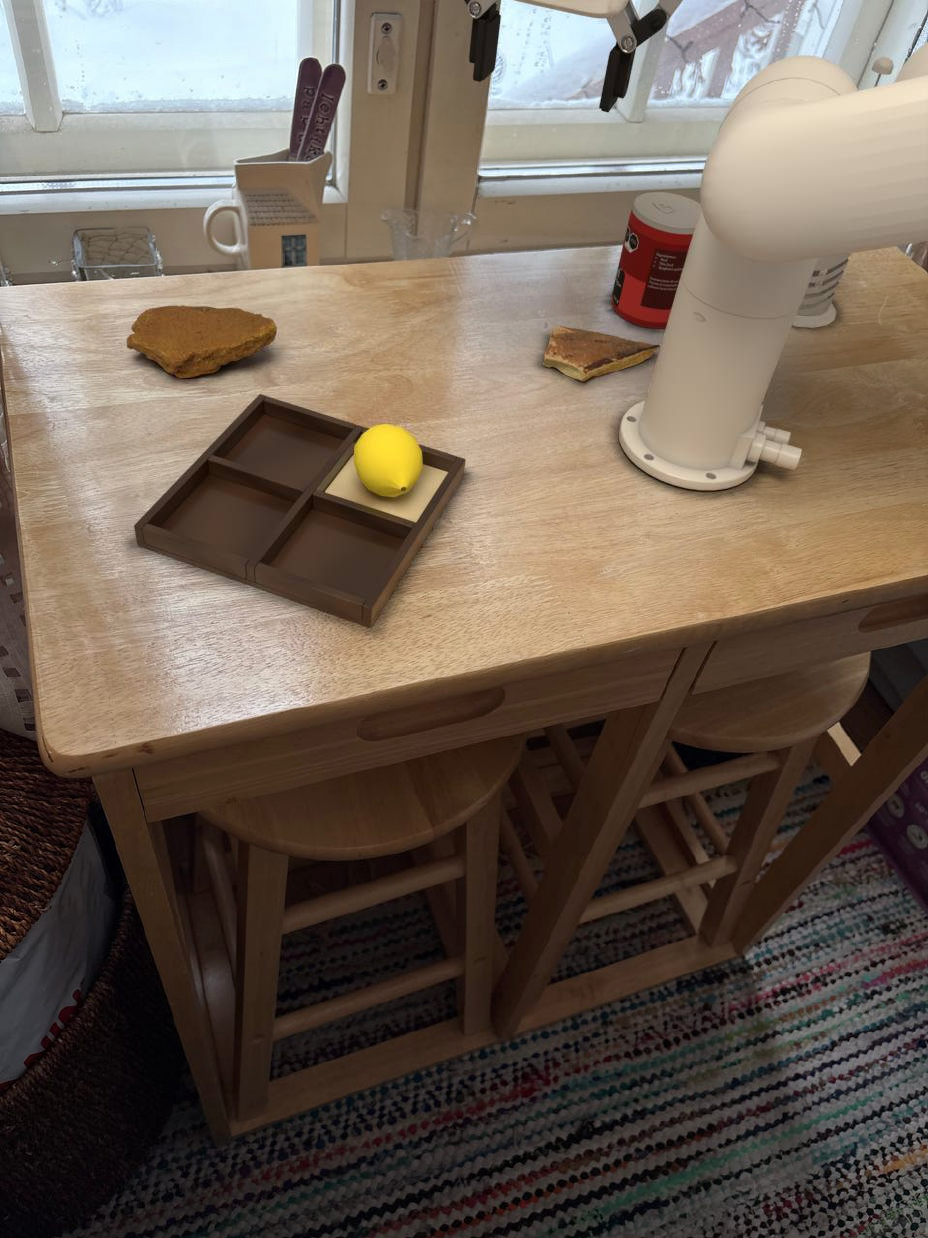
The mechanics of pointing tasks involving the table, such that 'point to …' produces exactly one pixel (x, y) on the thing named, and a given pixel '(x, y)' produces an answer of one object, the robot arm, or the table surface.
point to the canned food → (653, 257)
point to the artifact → (199, 337)
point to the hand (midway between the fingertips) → (545, 90)
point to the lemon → (388, 460)
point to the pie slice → (592, 352)
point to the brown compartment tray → (298, 512)
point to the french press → (829, 264)
